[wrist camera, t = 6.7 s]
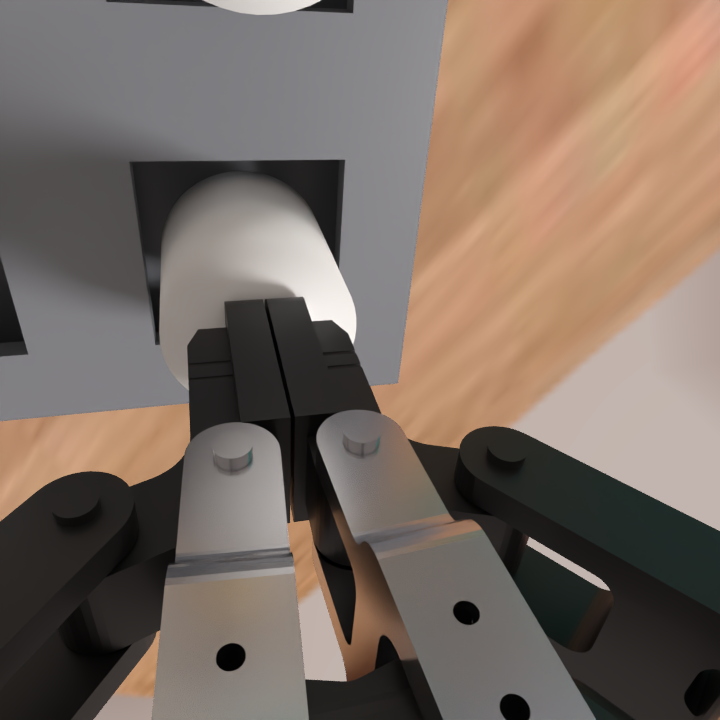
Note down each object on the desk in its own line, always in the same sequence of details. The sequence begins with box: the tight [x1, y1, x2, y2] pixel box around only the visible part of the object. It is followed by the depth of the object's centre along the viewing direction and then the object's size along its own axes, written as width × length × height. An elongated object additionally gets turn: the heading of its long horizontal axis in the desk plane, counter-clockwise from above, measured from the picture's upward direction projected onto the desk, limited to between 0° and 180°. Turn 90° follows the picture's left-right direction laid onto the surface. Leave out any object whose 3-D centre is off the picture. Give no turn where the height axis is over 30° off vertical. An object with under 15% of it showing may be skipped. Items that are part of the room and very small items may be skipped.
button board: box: [0, 0, 448, 421], centre depth 13 cm, size 16×16×3 cm
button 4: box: [159, 171, 356, 390], centre depth 14 cm, size 4×4×4 cm
